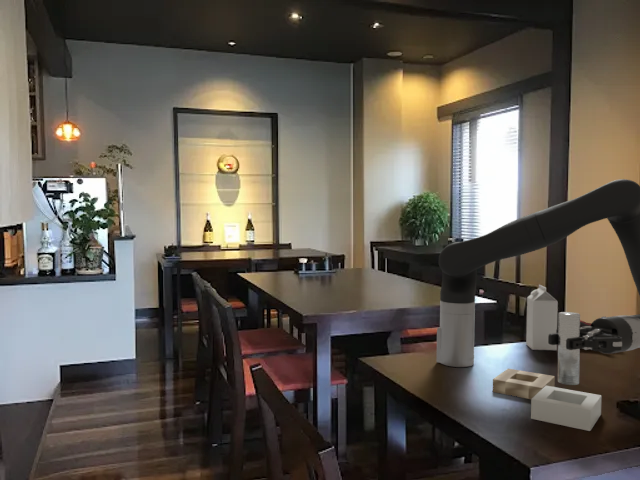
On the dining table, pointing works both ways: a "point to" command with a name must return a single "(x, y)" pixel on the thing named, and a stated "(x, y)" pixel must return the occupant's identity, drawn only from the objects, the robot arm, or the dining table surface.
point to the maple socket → (521, 383)
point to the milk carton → (541, 319)
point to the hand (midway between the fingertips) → (558, 341)
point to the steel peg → (567, 358)
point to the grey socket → (566, 407)
